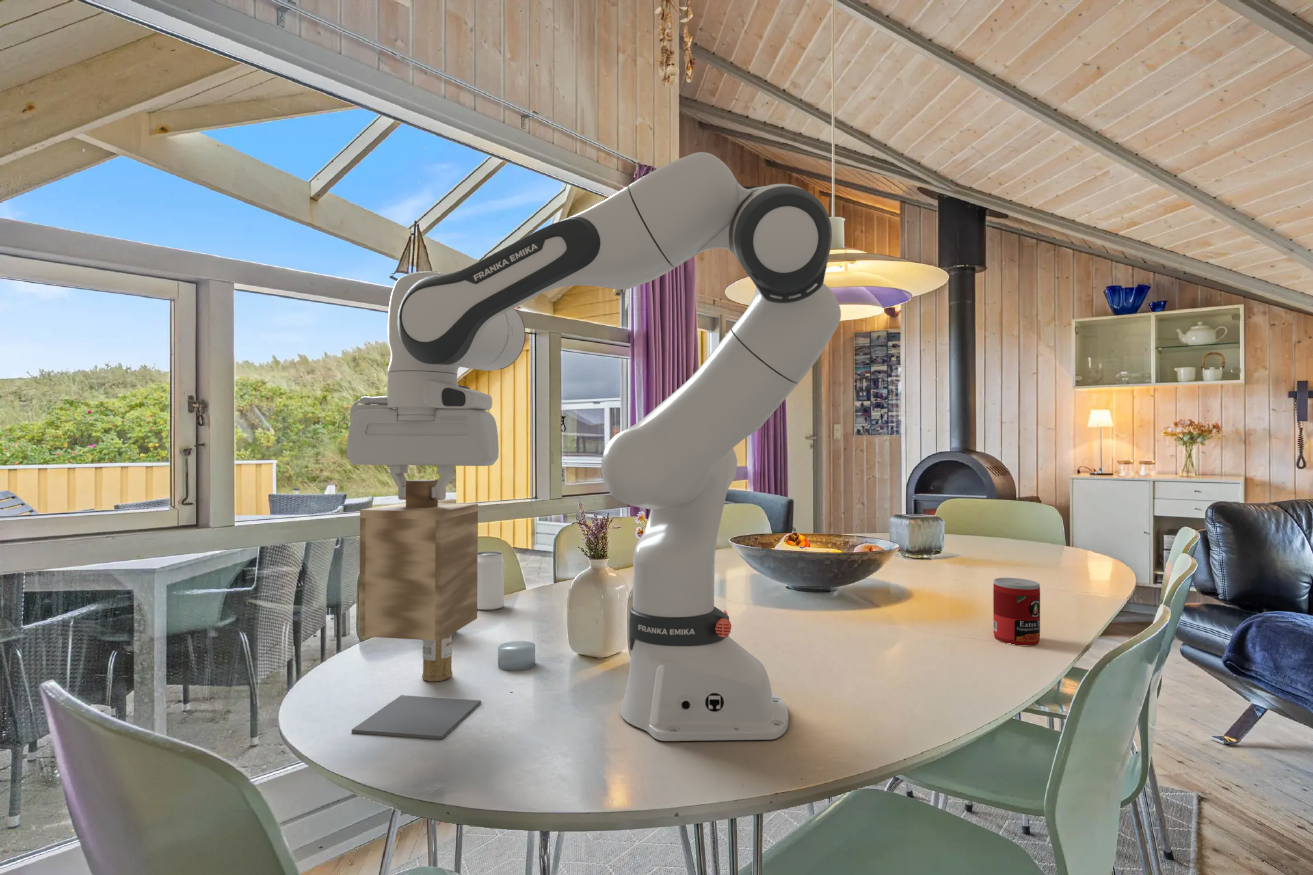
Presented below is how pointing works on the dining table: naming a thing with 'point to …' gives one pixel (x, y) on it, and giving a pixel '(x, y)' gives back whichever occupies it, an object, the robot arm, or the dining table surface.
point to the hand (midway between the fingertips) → (422, 499)
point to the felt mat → (418, 717)
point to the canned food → (1016, 611)
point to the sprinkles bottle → (437, 659)
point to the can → (490, 580)
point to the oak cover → (418, 567)
